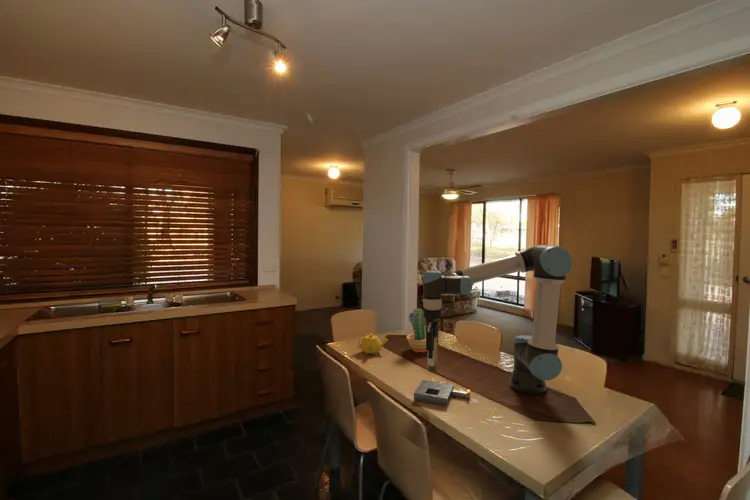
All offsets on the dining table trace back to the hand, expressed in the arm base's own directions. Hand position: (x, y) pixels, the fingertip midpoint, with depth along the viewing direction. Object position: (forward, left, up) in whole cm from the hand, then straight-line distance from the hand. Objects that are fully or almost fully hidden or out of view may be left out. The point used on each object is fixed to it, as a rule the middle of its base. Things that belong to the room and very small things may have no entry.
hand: (432, 363), depth 145 cm
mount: (0, -3, -16) cm, 16 cm away
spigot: (0, 0, -3) cm, 3 cm away
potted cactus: (+22, -58, -16) cm, 64 cm away
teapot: (+46, -43, -16) cm, 65 cm away
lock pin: (-8, -7, -16) cm, 19 cm away
